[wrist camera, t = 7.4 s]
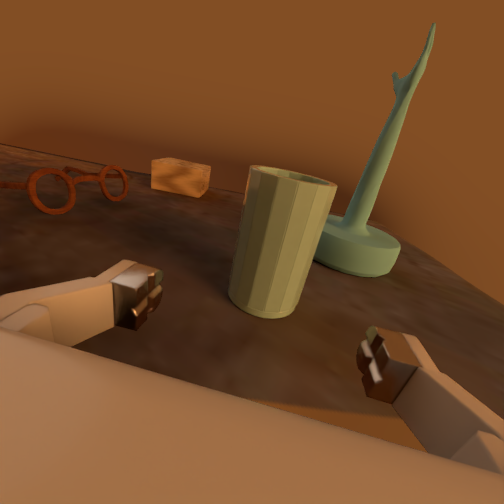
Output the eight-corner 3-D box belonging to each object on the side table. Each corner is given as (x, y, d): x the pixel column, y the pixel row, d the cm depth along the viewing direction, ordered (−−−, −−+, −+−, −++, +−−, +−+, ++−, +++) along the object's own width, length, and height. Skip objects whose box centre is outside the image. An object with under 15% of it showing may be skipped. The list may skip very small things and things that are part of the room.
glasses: (39, 222, 24) (30, 171, 22) (-59, 191, 26) (-76, 141, 24) (130, 200, 36) (130, 165, 34) (58, 180, 38) (54, 146, 36)
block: (150, 188, 45) (151, 160, 43) (167, 181, 53) (168, 157, 51) (199, 198, 45) (202, 170, 43) (208, 189, 53) (210, 166, 51)
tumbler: (217, 303, 18) (240, 167, 14) (239, 270, 24) (261, 163, 19) (292, 328, 17) (341, 191, 13) (298, 288, 23) (334, 180, 19)
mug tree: (384, 255, 36) (482, 52, 26) (395, 293, 26) (568, -27, 15) (305, 230, 40) (363, 42, 30) (285, 254, 29) (365, -27, 19)
